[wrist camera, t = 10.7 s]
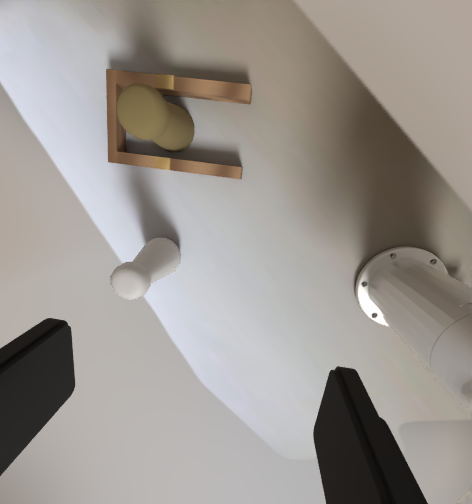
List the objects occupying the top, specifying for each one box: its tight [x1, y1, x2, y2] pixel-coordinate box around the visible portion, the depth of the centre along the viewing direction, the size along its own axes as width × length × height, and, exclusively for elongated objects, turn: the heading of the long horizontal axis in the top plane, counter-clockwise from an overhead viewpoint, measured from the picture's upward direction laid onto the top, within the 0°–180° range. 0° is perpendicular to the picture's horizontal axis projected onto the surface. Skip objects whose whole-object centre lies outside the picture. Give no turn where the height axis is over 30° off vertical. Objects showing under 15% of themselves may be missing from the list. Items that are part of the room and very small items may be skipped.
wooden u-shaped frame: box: [106, 69, 252, 179], centre depth 34 cm, size 18×11×3 cm, turn 83°
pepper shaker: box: [116, 83, 194, 152], centre depth 30 cm, size 6×6×11 cm
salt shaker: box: [110, 238, 181, 300], centre depth 34 cm, size 6×6×13 cm
